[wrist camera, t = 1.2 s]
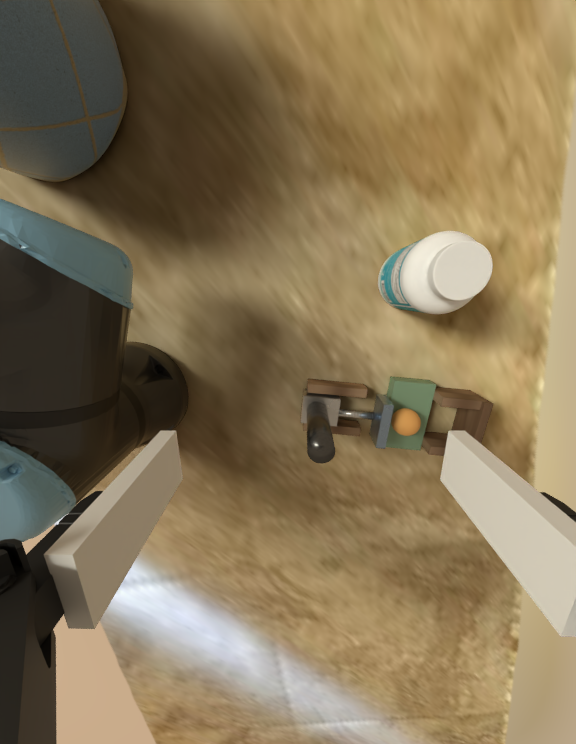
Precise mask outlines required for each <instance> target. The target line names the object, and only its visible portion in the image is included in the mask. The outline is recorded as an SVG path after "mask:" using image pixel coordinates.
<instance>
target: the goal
mask: <svg viewBox="0 0 576 744" xmlns="http://www.w3.org/2000/svg"><path fill="white" fill-rule="evenodd" d="M433 400H434V401H435V402H437V403H438V404H439V405H440V406H443V407H453V408H458V409H457V413H456V416H455V420H454V423H453V427H452V431H466V432H467V433H468V434H469V435H471V436H472V437H473V438H474V439H476V440H477V441H478V442H479V443H480V444H481V442H482V439H483V435H484V432H485V429H486V426H487V423H488V419H489V416H490V413H491V410H492V407H493V403H491V402H489V401H488V400H486V399H484V398H482V397H481V396H479V395H477V394H476V393H474V392H472V391H471V390H463V389H452V388H442V387H436V389H435V393H434V397H433ZM447 436H448V434H446V433H436V432H426V431H425V433H424V437H423V441H422V446H423V447H424V449H425V450H426V451H427V453H428V454H430V455H440V456H444V454H445V448H446V442H447Z"/></svg>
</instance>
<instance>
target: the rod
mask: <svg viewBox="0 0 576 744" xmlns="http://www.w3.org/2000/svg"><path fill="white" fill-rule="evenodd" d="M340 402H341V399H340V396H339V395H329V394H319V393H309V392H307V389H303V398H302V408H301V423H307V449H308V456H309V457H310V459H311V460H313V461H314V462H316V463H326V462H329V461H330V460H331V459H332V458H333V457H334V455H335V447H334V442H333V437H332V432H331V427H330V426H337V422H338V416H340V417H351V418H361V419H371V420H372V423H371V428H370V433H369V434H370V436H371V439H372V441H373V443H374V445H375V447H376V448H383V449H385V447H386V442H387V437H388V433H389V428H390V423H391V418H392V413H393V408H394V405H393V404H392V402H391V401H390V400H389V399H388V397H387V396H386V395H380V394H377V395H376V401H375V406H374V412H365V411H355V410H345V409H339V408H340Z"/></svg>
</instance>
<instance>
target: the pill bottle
mask: <svg viewBox="0 0 576 744" xmlns="http://www.w3.org/2000/svg"><path fill="white" fill-rule="evenodd" d="M492 268H493V264H492V258H491V255H490V253H489V251H488V250H487V249H486V248H485V247H484V246H483V245H482V244H480V243H478V242H476V241H475V240H474V239H473V238H472V237H470V236H468V235H466V234H464V233H461V232H457V231H443V232H438V233H435V234H432V235H430V236H428V237H426V238H424V239H422V240H419V241H417V242H415V243H413V244H411V245H409V246H407V247H405V248H403V249H400V250H398V251H397V252H395V253H393V254H392V255H391V256H390V257H389V258H388V259H387V260H386V261H385V262H384V264H383V265H382V267H381V270H380V272H379V276H378V288H379V291H380V294H381V296H382V298H383V299H384V300H385V301H386V302H387V303H388V304H389V305H391V306H393V307H395V308H398V309H402V310H410V311H416V312H422V313H428V314H445V313H449V312H452V311H455V310H457V309H459V308H461V307H463V306H464V305H465V304H467V303H468V302H469V301H470V300H471V299H472V298H473V297H474V296H475V295H476V294H478V293H479V292H480V291H481V290H482V289H483V288H484V287H485V286H486V285H487V283H488V281H489V279H490V277H491V273H492Z"/></svg>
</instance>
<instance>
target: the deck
mask: <svg viewBox="0 0 576 744" xmlns="http://www.w3.org/2000/svg"><path fill="white" fill-rule="evenodd" d="M435 389H436V384H435V383H433V382H432V381H430V380H423V379H412V378H401V377H390V382H389V387H388V392H387V397H388V399H389V400H390V401H391V402H392V404H393V405H394V408H393V413H392V416H393V414H394V413H395V412H396V411H397V410H399V409H403V408H407V409H411V410H413V411H415V412H416V413H417V414H418V416H419V417H420V420H421V426H420V429H419V430H418V431H417V432H416V433H415V434H413V435H410V436H404V435H401V434H399V433H397V432H396V431H395V430H394V428H393V427H392V423H390V428H389V433H388V437H387V442H386V447H391V448H400V449H410V450H421V445H422V441H423V437H424V433H425V429H426V425H427V421H428V417H429V413H430V409H431V405H432V401H433V397H434V393H435ZM391 419H392V418H391Z"/></svg>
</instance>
